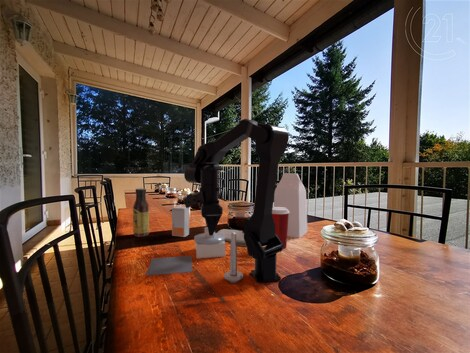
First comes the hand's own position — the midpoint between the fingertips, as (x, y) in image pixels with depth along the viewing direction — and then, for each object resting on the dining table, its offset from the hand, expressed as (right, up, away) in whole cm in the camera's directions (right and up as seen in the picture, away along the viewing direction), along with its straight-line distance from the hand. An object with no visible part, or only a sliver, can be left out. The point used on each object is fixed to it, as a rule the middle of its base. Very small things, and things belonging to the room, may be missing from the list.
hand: (209, 231), depth 81 cm
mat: (-10, -8, -10) cm, 16 cm away
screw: (+8, -9, -19) cm, 23 cm away
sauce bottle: (-31, -7, +23) cm, 39 cm away
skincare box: (-15, -7, +23) cm, 28 cm away
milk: (+32, -7, +27) cm, 43 cm away
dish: (0, -8, 0) cm, 8 cm away
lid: (0, -3, 0) cm, 3 cm away
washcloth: (+8, -8, +17) cm, 20 cm away
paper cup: (+24, -8, +8) cm, 26 cm away
